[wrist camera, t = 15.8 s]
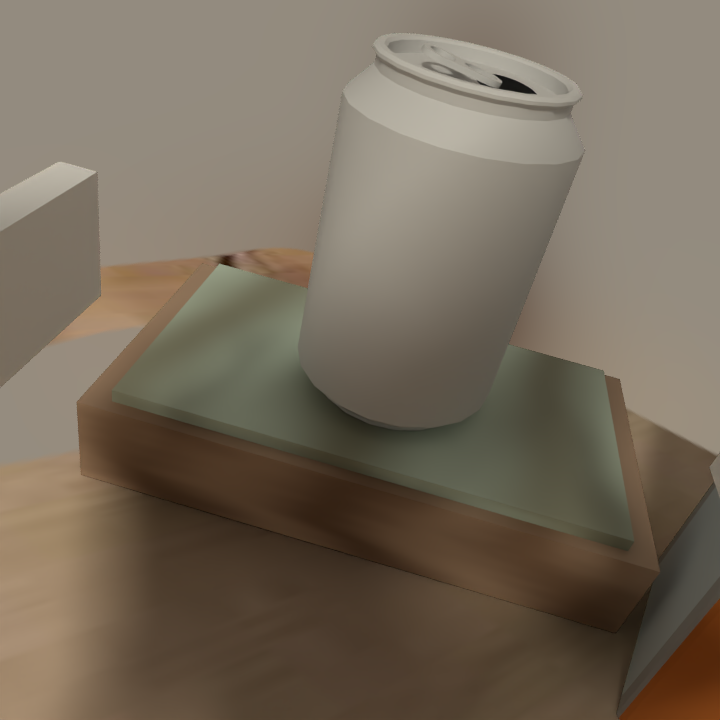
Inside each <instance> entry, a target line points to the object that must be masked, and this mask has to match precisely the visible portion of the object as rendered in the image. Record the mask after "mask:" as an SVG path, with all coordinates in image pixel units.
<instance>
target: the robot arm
mask: <svg viewBox="0 0 720 720" xmlns="http://www.w3.org/2000/svg"><path fill="white" fill-rule="evenodd" d="M100 296H101V276H100V242H99V209H98V177H97V172H96V171H92V170H89V169H85V168H81V167H78V166H74V165H70V164H67V163H63V162H58V163H56V164H54V165H52V166H50V167H48V168H47V169H45V170H43V171H41V172H39V173H37V174H36V175H34V176H32V177H30V178H28V179H26V180H24V181H23V182H21V183H19V184H17V185H15V186H13V187H12V188H10V189H8V190H6V191H4V192H2V193H0V387H1V386H3V385H4V384H5V383H6V382H7V381H8V380H9V379H10V378H11V377H12V376H13V375H14V374H16V373H17V372H18V371H19V370H20V369H21V368H22V367H23V366H24V365H26V364H27V363H28V362H29V361H30V360H31V359H32V358H33V357H34V356H35V355H36V354H38V353H39V352H40V351H41V350H42V349H43V348H44V347H45V346H46V345H47V344H49V343H50V342H51V341H52V340H53V339H54V338H55V337H56V336H57V335H58V334H59V333H61V332H62V331H63V330H64V329H65V328H66V327H67V326H68V325H69V324H70V323H71V322H73V321H74V320H75V319H76V318H77V317H78V316H79V315H80V314H81V313H82V312H84V311H85V310H86V309H87V308H88V307H89V306H90V305H91V304H92V303H93V302H94V301H96V300H97V299H98V298H99V297H100ZM709 468H710V471H711V474H712V477H713V480H714V483H715V485H716V488H717V491H718V494H719V497H720V453H719V454H718V456H717V457H716V459H715V460H714V461H713V463H712V464H711V466H710V467H709Z"/></svg>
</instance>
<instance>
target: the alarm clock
mask: <svg viewBox="0 0 720 720" xmlns="http://www.w3.org/2000/svg"><path fill="white" fill-rule="evenodd" d="M658 563H659V568H660V573H659V575H658V576H657V577H656V579H655V580H654V581H653V584H652V587H651V591H650V594H649V598H648V602H647V605H646V609H645V612H644V616H643V620H642V623H641V627H640V631H639V634H638V638H637V641H636V645H635V649H634V652H633V656H632V659H631V663H630V667H629V670H628V674H627V677H626V681H625V685H624V688H623V692H622V696H621V699H620V703H619V706H618V710H617V717H618V719H620V720H720V497H719V494H718V491H717V488H716V485H715V483H714V482H713V484H712V485H711V487H710V488H709V489H708V491H707V492H706V494H705V495H704V496H703V498H702V499H701V501H700V502H699V503H698V505H697V506H696V508H695V509H694V510H693V512H692V513H691V515H690V516H689V517H688V519H687V520H686V522H685V523H684V524H683V526H682V527H681V528H680V530H679V531H678V533H677V534H676V535H675V537H674V538H673V540H672V541H671V542H670V544H669V545H668V547H667V548H666V549H665V551H664V552H663V554H662V555H661V556H660V558H659V562H658Z"/></svg>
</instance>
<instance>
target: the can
mask: <svg viewBox="0 0 720 720" xmlns="http://www.w3.org/2000/svg"><path fill="white" fill-rule="evenodd" d="M372 48H373V50H374V51H375V53H376V59H375V62H374V63H372V64H371V65H370V66H369V67H367V68H366V69H365V70H364V71H362V72H361V73H360V74H359V75H358V76H356V77H355V78H354V79H352V80H351V81H350V82H349V83H348V84H347V85H346V87H345V88H344V90H343V92H342V97H341V103H340V108H339V114H338V120H337V126H336V131H335V138H334V143H333V148H332V154H331V160H330V166H329V171H328V177H327V183H326V189H325V194H324V200H323V206H322V211H321V217H320V222H319V228H318V234H317V240H316V245H315V251H314V257H313V262H312V268H311V274H310V279H309V285H308V291H307V296H306V302H305V308H304V314H303V319H302V325H301V331H300V336H299V342H298V352H299V358H300V364H301V367H302V368H303V370H304V371H305V373H306V374H307V376H308V377H309V379H310V380H311V382H312V383H313V385H314V386H315V387H316V388H318V389H319V390H320V391H321V392H323V393H324V394H325V395H326V396H327V398H328V399H329V400H330V401H332V402H333V403H334V404H335V405H337V406H338V407H339V408H340V409H342V410H343V411H344V412H345V413H347V414H349V415H351V416H353V417H355V418H357V419H360V420H362V421H364V422H366V423H368V424H371V425H375V426H379V427H383V428H388V429H392V430H407V431H420V430H425V429H429V428H435V427H439V426H444V425H448V424H453V423H457V422H461V421H463V420H464V419H466V418H467V417H469V416H471V415H472V414H474V413H475V412H477V411H478V410H480V408H481V407H482V405H483V403H484V401H485V400H486V398H487V396H488V394H489V392H490V390H491V387H492V384H493V382H494V379H495V377H496V374H497V372H498V369H499V367H500V364H501V362H502V359H503V357H504V354H505V352H506V349H507V347H508V344H509V341H510V339H511V336H512V334H513V331H514V329H515V326H516V324H517V321H518V319H519V316H520V314H521V311H522V309H523V306H524V304H525V301H526V299H527V296H528V293H529V291H530V288H531V286H532V283H533V281H534V278H535V275H536V273H537V271H538V268H539V266H540V263H541V261H542V258H543V256H544V253H545V250H546V248H547V245H548V243H549V240H550V238H551V235H552V233H553V230H554V228H555V225H556V223H557V220H558V218H559V215H560V213H561V210H562V208H563V205H564V203H565V200H566V197H567V195H568V193H569V190H570V187H571V185H572V182H573V180H574V177H575V175H576V172H577V170H578V167H579V165H580V162H581V160H582V157H583V154H584V152H585V149H584V147H583V144H582V141H581V139H580V136H579V134H578V131H577V128H576V126H575V123H574V121H573V118H572V116H571V111H572V108H573V106H574V105H575V104H577V103H578V102H579V101H580V100H581V99H582V97H583V95H582V93H581V91H580V89H579V87H578V85H577V84H576V83H575V82H573V81H572V80H570V79H569V78H567V77H566V76H564V75H562V74H560V73H558V72H556V71H554V70H552V69H550V68H548V67H546V66H543V65H541V64H538V63H535V62H533V61H530V60H527V59H524V58H522V57H519V56H516V55H512V54H509V53H506V52H503V51H499V50H496V49H493V48H489V47H485V46H481V45H477V44H472V43H468V42H464V41H459V40H454V39H448V38H443V37H437V36H429V35H421V34H403V33H401V34H399V33H397V34H396V33H393V34H388V35H383V36H380V37H379V38H377V39H376V41H375V42H374V44H373V47H372Z"/></svg>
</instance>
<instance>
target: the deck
mask: <svg viewBox="0 0 720 720" xmlns="http://www.w3.org/2000/svg"><path fill="white" fill-rule="evenodd" d="M307 291H308V288H304V287H301V286H297V285H294V284H290V283H286V282H283V281H279V280H276V279H272V278H268V277H265V276H261V275H258V274H254V273H250V272H247V271H243V270H240V269H236V268H232V267H229V266H225V265H222V264H219V265H218V266H217V267H215V266H211V265H207V264H204V263H202V264H201V265H200V266H199V267H198V268H197V269H196V271H195V272H194V273H193V274H192V275H191V276H190V277H189V278H188V279H187V280H186V282H185V283H184V284H183V285H182V286H181V287H180V288H179V289H178V290H177V292H176V293H175V294H174V295H173V296H172V297H171V298H170V299H169V300H168V302H167V303H166V304H165V305H164V306H163V307H162V308H161V309H160V310H159V311H158V313H157V314H156V315H155V316H154V317H153V318H152V319H151V320H150V321H149V323H148V324H147V325H146V326H145V327H144V328H143V329H142V330H141V331H140V333H139V334H138V335H137V336H136V337H135V338H134V339H133V340H132V341H131V342H130V344H129V345H128V346H127V347H126V348H125V349H124V350H123V351H122V352H121V354H120V355H119V356H118V357H117V358H116V359H115V360H114V361H113V362H112V364H111V365H110V366H109V367H108V368H107V369H106V370H105V371H104V373H103V374H102V375H101V376H100V377H99V378H98V379H97V380H96V381H95V382H94V384H92V386H91V387H90V388H89V389H88V390H87V391H86V392H85V393H84V395H83V396H82V397H81V398H80V399H79V400H78V401H77V416H78V432H79V450H80V467H81V475H84V476H88V477H91V478H94V479H98V480H101V481H104V482H108V483H111V484H114V485H118V486H121V487H125V488H128V489H131V490H135V491H138V492H141V493H145V494H148V495H152V496H155V497H158V498H162V499H165V500H168V501H172V502H175V503H178V504H182V505H185V506H189V507H192V508H195V509H199V510H202V511H205V512H209V513H212V514H216V515H219V516H222V517H226V518H229V519H232V520H236V521H239V522H242V523H246V524H249V525H253V526H256V527H259V528H263V529H266V530H269V531H273V532H276V533H280V534H283V535H286V536H290V537H293V538H296V539H300V540H303V541H307V542H310V543H313V544H317V545H320V546H323V547H327V548H330V549H333V550H337V551H340V552H344V553H347V554H350V555H354V556H357V557H360V558H364V559H367V560H371V561H374V562H377V563H381V564H384V565H387V566H391V567H394V568H397V569H401V570H404V571H408V572H411V573H414V574H418V575H421V576H424V577H428V578H431V579H435V580H438V581H441V582H445V583H448V584H451V585H455V586H458V587H461V588H465V589H468V590H472V591H475V592H478V593H482V594H485V595H488V596H492V597H495V598H499V599H502V600H505V601H509V602H512V603H515V604H519V605H522V606H526V607H529V608H532V609H536V610H539V611H542V612H546V613H549V614H552V615H556V616H559V617H563V618H566V619H569V620H573V621H576V622H579V623H583V624H586V625H590V626H593V627H596V628H600V629H603V630H606V631H610V632H613V633H616V632H617V631H618V629H619V628H620V627H621V625H622V624H623V622H624V621H625V620H626V618H627V617H628V616H629V614H630V613H631V612H632V610H633V609H634V607H635V606H636V605H637V603H638V602H639V601H640V599H641V598H642V597H643V595H644V594H645V592H646V591H647V590H648V588H649V587H650V586H651V584H652V583H653V581H654V580H655V579H656V577H657V576H658V575H659V573H660V568H659V563H658V558H657V554H656V549H655V544H654V539H653V535H652V530H651V525H650V521H649V516H648V511H647V506H646V502H645V497H644V492H643V487H642V483H641V478H640V473H639V468H638V464H637V459H636V454H635V450H634V445H633V440H632V435H631V431H630V426H629V421H628V416H627V412H626V407H625V402H624V398H623V393H622V388H621V383H620V379H617V378H613V377H610V376H606V375H604V371H603V370H599V369H596V368H592V367H589V366H585V365H581V364H578V363H574V362H570V361H567V360H563V359H560V358H556V357H553V356H549V355H545V354H542V353H538V352H535V351H531V350H527V349H524V348H520V347H516V346H513V345H509V344H508V347H507V349H506V352H505V354H504V357H503V359H502V362H501V364H500V367H499V369H498V372H497V374H496V377H495V379H494V382H493V384H492V387H491V390H490V392H489V394H488V396H487V398H486V400H485V401H484V403H483V405H482V407H481V408H480V410H478V411H477V412H475V413H474V414H472V415H471V416H469V417H467V418H466V419H464V420H463V421H461V422H457V423H453V424H448V425H444V426H439V427H435V428H429V429H425V430H420V431H407V430H392V429H388V428H383V427H379V426H375V425H371V424H368V423H366V422H364V421H362V420H360V419H357V418H355V417H353V416H351V415H349V414H347V413H345V412H344V411H343V410H342V409H340V408H339V407H338V406H337V405H335V404H334V403H333V402H332V401H330V400H329V399H328V398H327V396H326V395H325V394H324V393H323V392H321V391H320V390H319V389H318V388H316V387H315V386H314V385H313V383H312V382H311V380H310V379H309V377H308V376H307V374H306V373H305V371H304V370H303V368H302V367H301V364H300V358H299V352H298V342H299V336H300V331H301V325H302V319H303V314H304V308H305V302H306V296H307Z"/></svg>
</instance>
